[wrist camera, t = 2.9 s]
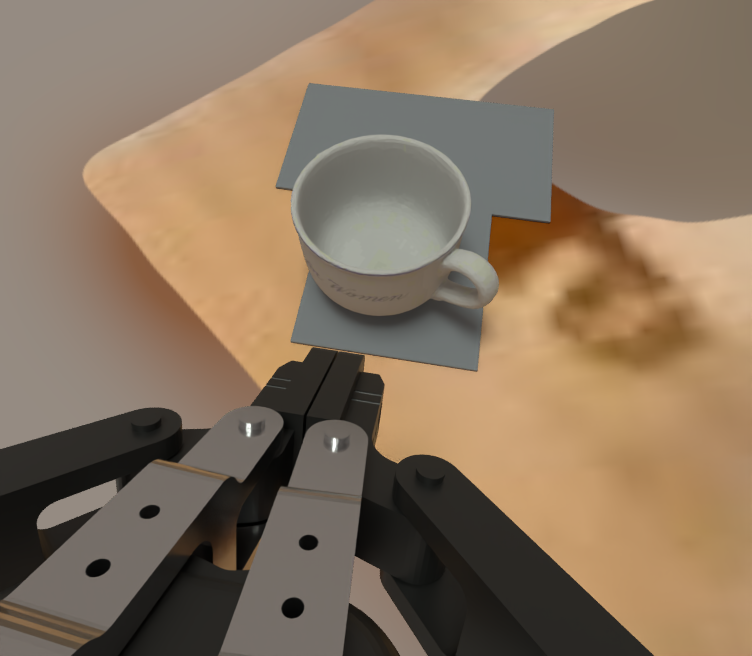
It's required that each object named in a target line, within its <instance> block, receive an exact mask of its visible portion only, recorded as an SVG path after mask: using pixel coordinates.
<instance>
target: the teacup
mask: <svg viewBox="0 0 752 656" xmlns="http://www.w3.org/2000/svg"><path fill="white" fill-rule="evenodd" d="M471 205H472V204H471V195H470V190H469V187H468V184H467V182H466V180H465V178H464V176H463V174H462V173H461V171H460V170H459V169H458V168H457V166H456V165H455V164H454V163H453V162H452V161H451V160H450V159H449V158H448V157H447V156H446V155H444V154H443V153H442V152H440V151H438V150H437V149H435V148H434V147H432V146H430V145H428V144H425V143H423V142H420V141H417V140H415V139H411V138H407V137H402V136H397V135H367V136H361V137H357V138H353V139H349V140H346V141H344V142H341V143H338V144H336V145H334V146H332V147H330V148H328V149H326V150H324V151H322V152H321V153H319V154H317V156H316V157H315V158H314V159H313V160H312V161H310V162H309V163H308V164H307V166H306V167H305V168H304V169H303V170H302V172H301V173H300V175H299V177H298V178H297V180H296V182H295V185H294V187H293V192H292V197H291V214H292V219H293V223H294V226H295V229H296V231H297V233H298V236H299V240H300V244H301V247H302V251H303V254H304V257H305V260H306V263H307V266H308V268H309V271H310V273H311V275H312V277H313V279H314V280H315V282H316V283H317V285H318V286H319V287H320V289H321V290H322V291H323V292H324V293H325V294H326V295H327V296H328V297H329V298H330V299H332V300H333V301H334V302H336V303H337V304H339V305H341V306H342V307H344V308H347V309H349V310H351V311H354V312H357V313H361V314H366V315H373V316H386V315H395V314H400V313H403V312H406V311H409V310H412V309H414V308H416V307H418V306H420V305H421V304H423V303H425V302H426V301H427V300H429V299H434V300H437V301H442V300H443V301H446V302H449V303H451V304H455V305H458V306H461V307H464V308H470V309H479V308H482V307H484V306H486V305H487V304H489V303H490V302H491V301H492V300H493V298H494V297H495V295H496V294H497V292H498V287H499V280H498V276H497V274H496V272H495V270H494V269H493V267H492V266H491V265H490V264H489V263H488V261H486V260H485V259H484V258H483V257H481V256H480V255H478V254H476V253H474V252H471V251H467V250H463V249H459V246H460V243H461V239H462V235H463V233H464V231H465V229H466V227H467V224H468V221H469V218H470V213H471ZM451 271H457V272H459V273H461V274H463V275H464V276H466V277H467V278H468V279H469V280H471V282H472V283H473V284H474V285H475V287H476V288H470V287H466V286H463V285H460V284H457V283H455V282H452V281H450V280H449V279H448V276H449V274H450V272H451Z"/></svg>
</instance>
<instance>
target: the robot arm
mask: <svg viewBox="0 0 752 656" xmlns="http://www.w3.org/2000/svg"><path fill="white" fill-rule="evenodd" d="M364 362H365V356H364V355H359V354H353V353H347V352H340V351H339V353H338V351H334V350H327V349H321V348H315V347H313V348H312V349H311V350H310V352H309V353H308V355H307V356H306V358H305V360H304V361H303V362H297V361H290V362H288V363H286V364H285V365H283V366H281V367H279V368H278V369H277V371H276V372H275V373H274V375H273V376H272V378H271V379H270V380H269V381H268V383H267V384H266V386H265V387H264V388H263V389H262V391H261V392H260V394H259V395H258V396H257V398H256V399H255V400H254V402H253V403H252V404H251V406H247V407H242V408H238V409H234V410H232V411H230V412H228V413H227V414H226V415H224V416H223V417H222V418H221V419H220V420H219V421H218V422H217V423H216V424H215V425H214V427H212V428H210V429H182V420H181V417H180V416H179V415H178V414H177V413H176V412H174V411H172V410H169V409H165V408H144V409H138V410H134V411H131V412H128V413H124V414H121V415H117V416H114V417H110V418H107V419H103V420H100V421H96V422H93V423H90V424H86V425H83V426H79V427H76V428H72V429H69V430H65V431H62V432H58V433H55V434H52V435H49V436H45V437H42V438H38V439H34V440H31V441H27V442H24V443H21V444H17V445H14V446H10V447H7V448H3V449H0V656H400V655H399V653H398V651H397V650H396V648H395V647H394V645H393V644H392V642H391V641H390V639H389V638H388V637H387V636H386V634H385V633H384V632H383V631H382V630H381V629H380V627H378V625H377V624H376V623H375V622H374V621H373V620H372V619H371V618H370V617H368V616H367V615H366V614H365V613H364V612H362V611H361V610H359V609H358V608H356V607H355V606H353V605H352V604H350V603H349V597H350V589H351V581H352V573H353V564H354V556H356V557H358V558H360V559H362V560H364V561H366V562H368V563H369V564H371V565H373V566H375V567H377V568H379V569H380V579H381V582H382V584H383V586H384V588H385V590H386V591H387V593H388V594H389V596H390V597H391V599H392V601H393V602H394V604H395V605H396V607H397V608H398V610H399V611H400V613H401V615H402V616H403V618H404V619H405V621H406V622H407V624H408V625H409V627H410V628H411V630H412V631H413V633H414V635H415V636H416V638H417V639H418V641H419V643H420V644H421V646H422V647H423V649H424V650H425V652H426V653H427V655H428V656H654V655H653V654H652V653H651V652H650V651H649V650H647V649H646V648H645V647H644V646H643V645H642V644H641V643H640V642H639V641H638V640H637V639H636V638H635V637H634V636H633V635H632V634H631V633H630V632H629V631H627V630H626V629H625V628H624V627H623V626H622V625H621V624H620V623H619V622H618V621H617V620H616V619H615V618H614V617H613V616H612V615H611V614H610V613H609V612H607V611H606V610H605V609H604V608H603V607H602V606H601V605H600V604H599V603H598V602H597V601H596V600H595V599H594V598H593V597H592V596H591V595H590V594H589V593H587V592H586V591H585V590H584V589H583V588H582V587H581V586H580V585H579V584H578V583H577V582H576V581H575V580H574V579H573V578H572V577H571V576H570V575H569V574H567V573H566V572H565V571H564V570H563V569H562V568H561V567H560V566H559V565H558V564H557V563H556V562H555V561H554V560H553V559H552V558H551V557H550V556H549V555H547V554H546V553H545V552H544V551H543V550H542V549H541V548H540V547H539V546H538V545H537V544H536V543H535V542H534V541H533V540H532V539H531V538H530V537H529V536H527V535H526V534H525V533H524V532H523V531H522V530H521V529H520V528H519V527H518V526H517V525H516V524H515V523H514V522H513V521H512V520H511V519H510V518H509V517H507V516H506V515H505V514H504V513H503V512H502V511H501V510H500V509H499V508H498V507H497V506H496V505H495V504H494V503H493V502H492V501H491V500H490V499H489V498H487V497H486V496H485V495H484V494H483V493H482V492H481V491H480V490H479V489H478V488H477V487H476V486H475V485H474V484H473V483H472V482H471V481H470V480H469V479H467V478H466V477H465V476H464V475H463V474H462V473H461V472H460V471H459V470H458V469H457V468H456V467H455V466H453V465H452V464H451V463H449V462H448V461H446V460H444V459H441V458H439V457H435V456H431V455H413V456H409V457H407V458H405V459H403V460H402V461H400V462H399V464H397V463H395V462H393V461H391V460H389V459H387V458H385V457H384V456H382V455H381V454H380V453H379V452H378V451H377V450H376V449H375V443H376V439H377V434H378V430H379V423H380V415H381V408H382V400H383V393H384V385H385V384H384V382H383V381H382V379H381V377H380V375H378V374H372V373H366V372H363V371H364ZM114 479H116V487H117V494H116V495H115V496H114V497H113V498H112V499H111V500H110V501H109V502H108V503H107V504H105V505H104V506H103V507H101V508H98V509H96V510H94V511H91V512H89V513H86V514H84V515H81V516H79V517H76V518H74V519H71V520H69V521H67V522H64V523H61V524H59V525H56V526H54V527H51V528H48V529H42V530H40V529H37V519H38V516H39V515H40V513H41V512H42V510H44V509H45V508H46V507H47V506H49V505H50V504H52V503H53V502H56V501H58V500H60V499H63V498H66V497H69V496H71V495H74V494H77V493H80V492H82V491H85V490H87V489H90V488H93V487H95V486H98V485H101V484H103V483H106V482H109V481H112V480H114Z"/></svg>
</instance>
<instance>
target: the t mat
mask: <svg viewBox="0 0 752 656" xmlns="http://www.w3.org/2000/svg"><path fill="white" fill-rule="evenodd" d="M553 119H554V110H553V109H545V108H535V107H526V106H516V105H507V104H498V103H489V102H480V101H470V100H461V99H452V98H442V97H433V96H424V95H414V94H405V93H396V92H386V91H377V90H368V89H359V88H349V87H340V86H331V85H321V84H312V83H309V85H308V88H307V91H306V94H305V97H304V100H303V103H302V106H301V109H300V112H299V115H298V119H297V122H296V125H295V128H294V131H293V134H292V137H291V140H290V143H289V146H288V150H287V153H286V156H285V159H284V162H283V165H282V168H281V171H280V174H279V177H278V180H277V184H276V188H278V189H286V190H293V187H294V185H295V182H296V180H297V178H298V177H299V175H300V173H301V172H302V170H303V169H304V168H305V167H306V166H307V164H308V163H309V162H310V161H312V160H313V159H314V158H315V157H316V156H317V154H319V153H321V152H322V151H324V150H326V149H328V148H330V147H332V146H334V145H336V144H338V143H341V142H344V141H346V140H349V139H353V138H357V137H361V136H367V135H397V136H402V137H407V138H411V139H415V140H417V141H420V142H423V143H425V144H428V145H430V146H432V147H434V148H435V149H437V150H438V151H440V152H442V153H443V154H444V155H446V156H447V157H448V158H449V159H450V160H451V161H452V162H453V163H454V164H455V165H456V166H457V168H458V169H459V170H460V171H461V173H462V174H463V176H464V178H465V180H466V182H467V184H468V187H469V190H470V195H471V204H472V205H471V213H470V218H469V221H468V224H467V227H466V229H465V231H464V233H463V235H462V239H461V243H460V246H459V249H463V250H467V251H471V252H474V253H476V254H478V255H480V256H481V257H483V258H484V259H485V260H486V261H488V250H489V239H490V228H491V217H492V216H497V217H505V218H513V219H520V220H528V221H536V222H544V223H550V214H551V183H552V151H553ZM448 279H449V280H450V281H452V282H455V283H457V284H460V285H463V286H466V287H470V288H476V287H475V285H474V284H473V283H472V282H471V280H469V279H468V278H467V277H466V276H464V275H463V274H461V273H459V272H457V271H451V272H450V274H449V276H448ZM482 315H483V307H482V308H479V309H470V308H464V307H461V306H458V305H455V304H451V303H449V302H446V301H443V300H442V301H437V300H434V299H429V300H427V301H426V302H425V303H423V304H421V305H420V306H418V307H416V308H414V309H412V310H409V311H406V312H403V313H400V314H395V315H386V316H373V315H366V314H361V313H357V312H354V311H351V310H349V309H347V308H344V307H342V306H341V305H339V304H337V303H336V302H334V301H333V300H332V299H330V298H329V297H328V296H327V295H326V294H325V293H324V292H323V291H322V290H321V289H320V287H319V286H318V285H317V283H316V282H315V280H314V279H313V277H312V275H311V273H310V271H309V273H308V277H307V280H306V284H305V288H304V292H303V296H302V299H301V303H300V307H299V311H298V315H297V318H296V322H295V326H294V330H293V333H292V337H291V342H292V343H299V344H305V345H311V346H318V347H324V348H331V349H337V350H343V351H350V352H356V353H362V354H369V355H375V356H382V357H388V358H394V359H401V360H407V361H414V362H420V363H426V364H433V365H439V366H445V367H452V368H458V369H465V370H471V371H477V369H478V358H479V347H480V337H481V326H482Z"/></svg>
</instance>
